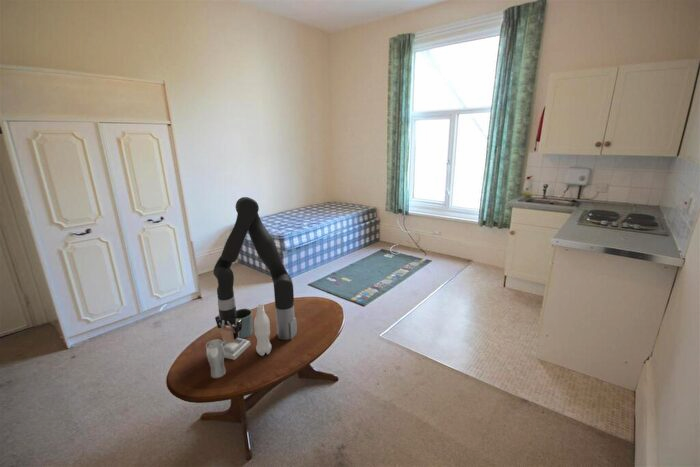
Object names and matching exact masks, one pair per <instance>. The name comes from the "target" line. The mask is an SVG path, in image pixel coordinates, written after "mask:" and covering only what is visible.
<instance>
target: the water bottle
mask: <svg viewBox="0 0 700 467" xmlns="http://www.w3.org/2000/svg"><path fill="white" fill-rule="evenodd" d="M253 329H254V335H255V337H256V340H257V342H256V346H255V351H256V353H257V354H258V355H259V356H261V357H264V356H265V354H266V355H270V353H271V351H272V344H271V342H270V334H271V326H270V318H269V316H268V315H267V314H266V312H265V307H264V304H263V303H262V304H261V303H260V304H257V305H256V315H255V317H254V319H253Z"/></svg>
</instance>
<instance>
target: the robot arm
mask: <svg viewBox="0 0 700 467" xmlns="http://www.w3.org/2000/svg"><path fill="white" fill-rule="evenodd" d="M235 210H236V213H237V215H236V219H235V223H234V226H233V228H232V230H231V232H230V233H229V235H228V237H227V239H226V241H225V244H224V246H223V248H222V252H221V255H220V256H219V258H218V259H217V261H216V263H215V265H214V267H213V270H212V271H213V275H214V277H215V278H216V279H217V285H218V286H217V288H216V294H217V306H218V315H217V316H215V317H214V319H215V323H216V326H217V328H218V329H220V330H221V329H222V328H224V327H225V326H230V329H232V330H233V336H234V339H237V338H238V332H239V331H240V330H241V329H242V320H241V319H240V320H238V319H237V318H236V310H237V309H236V307H237V306H236V299H235V293H234V292H235V291H234V281H235V277H234V272H233V270H232V269H231V266H232V265H233V263H235V262H236V261H237V260H238V257H239V255H240V252H241V250H242V247H243V244H244V241H245V238H246V235H247V234H249V237H250V240H251V242H252V245H253V246H254V249H255V251H256V254H257V256H258V257H259V259H260V260H261V262H262V263H263V264H264V265H265V267H266V268H267V269H268V271H269V274H270V276H271V280H272V283H273V293H274V306H275V307H274V308H275V309H274V310H275V319H276V334H277V338H278V339H280V340H282V341H286V340H287V341H288V340H293V338H294V337H295V336H297V333H298V331H297V330H298V327H297V317H295V306H294V305H295V304H294V302H295V298H294V294H295V293H294V284H293V280H292V278H291V275H290V274H289V273H288V271H287V270H286V268H285V266H284V264H283V262H282V259H281V256H280V252H279V250H278V248H277V246H276V243H275V241H274V239H273V237H272V235H271V234H270V233H269V231H268V229H267V228H266V226H265V225H264V224H263V221H262V219H261V218H260V215H259V210H260V209H259V204H258V202H257V201H256V200H254V199H253V198H251V197H248V196H244V197H240V198H239V199H238V200H237V201H236V203H235ZM232 325H233V326H232ZM234 328H235V329H234Z"/></svg>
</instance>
